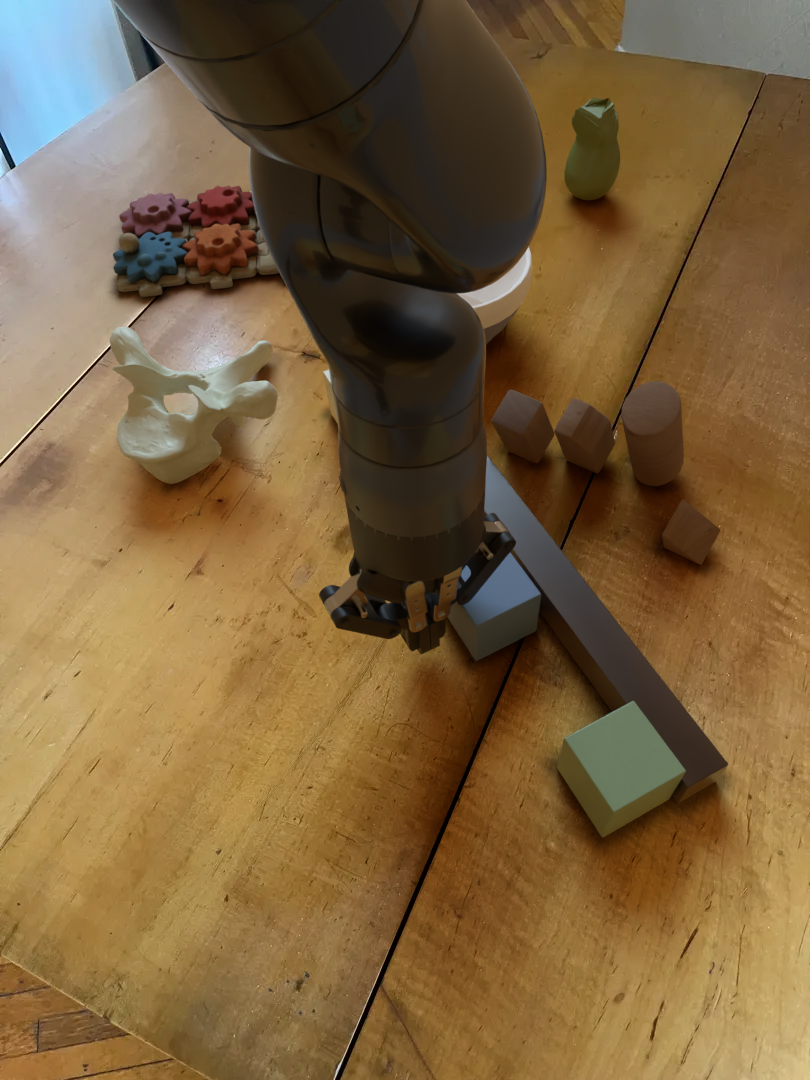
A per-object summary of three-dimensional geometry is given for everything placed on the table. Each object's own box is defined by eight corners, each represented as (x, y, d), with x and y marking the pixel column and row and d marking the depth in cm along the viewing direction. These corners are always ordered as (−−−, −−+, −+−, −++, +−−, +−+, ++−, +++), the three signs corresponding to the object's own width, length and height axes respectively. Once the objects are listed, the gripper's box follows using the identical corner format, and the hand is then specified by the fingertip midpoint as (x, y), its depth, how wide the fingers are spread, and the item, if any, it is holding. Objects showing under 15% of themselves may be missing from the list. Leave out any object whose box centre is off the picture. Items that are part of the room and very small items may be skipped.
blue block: (475, 662, 57) (476, 626, 53) (441, 608, 60) (438, 570, 55) (536, 631, 58) (541, 594, 54) (500, 579, 61) (502, 540, 57)
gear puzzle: (401, 179, 92) (398, 144, 89) (417, 266, 83) (415, 231, 80) (127, 212, 92) (114, 178, 89) (112, 303, 83) (97, 269, 79)
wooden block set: (499, 476, 69) (468, 427, 60) (550, 390, 70) (526, 328, 61) (701, 571, 62) (701, 532, 52) (755, 473, 62) (764, 418, 53)
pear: (624, 196, 88) (639, 102, 79) (588, 216, 86) (600, 122, 78) (587, 175, 90) (598, 82, 82) (551, 194, 89) (559, 100, 81)
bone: (275, 358, 77) (256, 284, 70) (295, 468, 68) (275, 394, 61) (133, 387, 76) (100, 315, 69) (135, 502, 67) (97, 431, 60)
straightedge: (677, 804, 50) (688, 787, 48) (399, 417, 71) (397, 392, 68) (716, 781, 51) (729, 764, 49) (429, 405, 72) (428, 379, 69)
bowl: (361, 294, 81) (353, 225, 75) (503, 267, 82) (506, 198, 76) (390, 394, 73) (383, 327, 66) (548, 363, 74) (555, 294, 67)
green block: (602, 838, 49) (613, 813, 45) (556, 767, 52) (563, 737, 48) (669, 799, 51) (687, 771, 46) (621, 731, 53) (633, 699, 49)
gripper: (328, 580, 39) (361, 728, 53) (560, 476, 42) (534, 641, 56) (270, 476, 43) (314, 639, 57) (485, 389, 46) (478, 563, 60)
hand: (423, 640), depth 57 cm, fingers closed
